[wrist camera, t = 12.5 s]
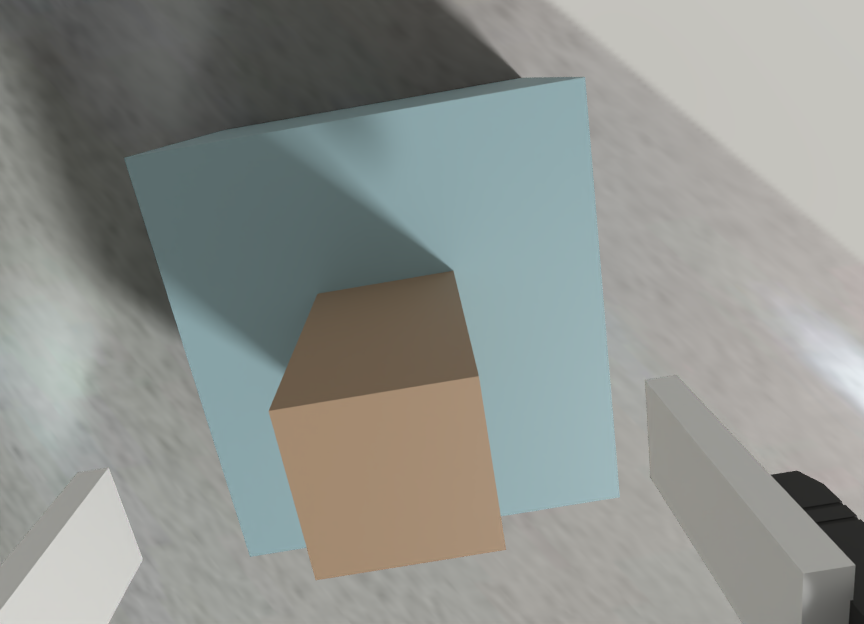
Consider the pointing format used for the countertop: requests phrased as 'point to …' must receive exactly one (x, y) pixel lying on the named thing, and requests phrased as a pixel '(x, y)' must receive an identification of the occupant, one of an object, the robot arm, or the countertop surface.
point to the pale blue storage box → (393, 318)
